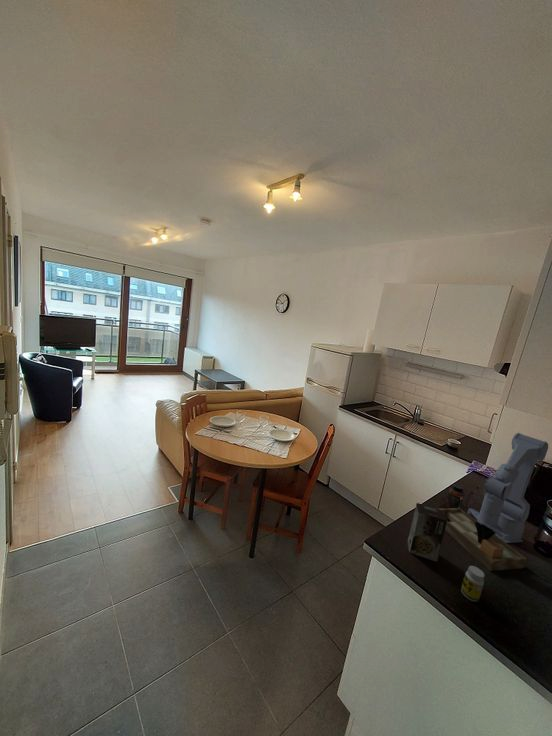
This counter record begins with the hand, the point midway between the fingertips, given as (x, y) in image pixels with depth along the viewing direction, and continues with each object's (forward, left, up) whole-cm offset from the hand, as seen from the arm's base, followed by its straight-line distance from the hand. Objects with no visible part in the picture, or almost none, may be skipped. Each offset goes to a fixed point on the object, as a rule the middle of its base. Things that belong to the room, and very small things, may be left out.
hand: (481, 543), depth 107 cm
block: (0, +4, -1) cm, 4 cm away
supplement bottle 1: (-13, -25, -4) cm, 28 cm away
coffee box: (+25, -2, -4) cm, 25 cm away
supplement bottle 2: (+22, +15, -4) cm, 27 cm away
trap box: (-3, -6, -3) cm, 7 cm away
